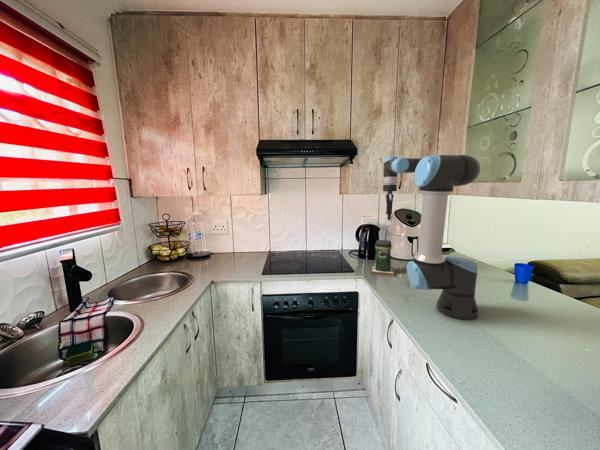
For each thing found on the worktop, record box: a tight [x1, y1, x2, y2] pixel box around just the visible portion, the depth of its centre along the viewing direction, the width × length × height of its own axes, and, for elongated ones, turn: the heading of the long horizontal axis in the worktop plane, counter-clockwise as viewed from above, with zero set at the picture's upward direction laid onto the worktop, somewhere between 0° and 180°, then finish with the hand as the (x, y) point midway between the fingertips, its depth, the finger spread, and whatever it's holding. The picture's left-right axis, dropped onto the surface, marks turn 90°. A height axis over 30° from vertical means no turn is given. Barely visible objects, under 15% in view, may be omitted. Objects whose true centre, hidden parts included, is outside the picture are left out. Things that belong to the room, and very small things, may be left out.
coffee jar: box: [374, 239, 392, 271], centre depth 153 cm, size 10×8×19 cm
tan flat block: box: [370, 265, 395, 278], centre depth 155 cm, size 11×13×2 cm
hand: (388, 224), depth 148 cm, fingers closed
